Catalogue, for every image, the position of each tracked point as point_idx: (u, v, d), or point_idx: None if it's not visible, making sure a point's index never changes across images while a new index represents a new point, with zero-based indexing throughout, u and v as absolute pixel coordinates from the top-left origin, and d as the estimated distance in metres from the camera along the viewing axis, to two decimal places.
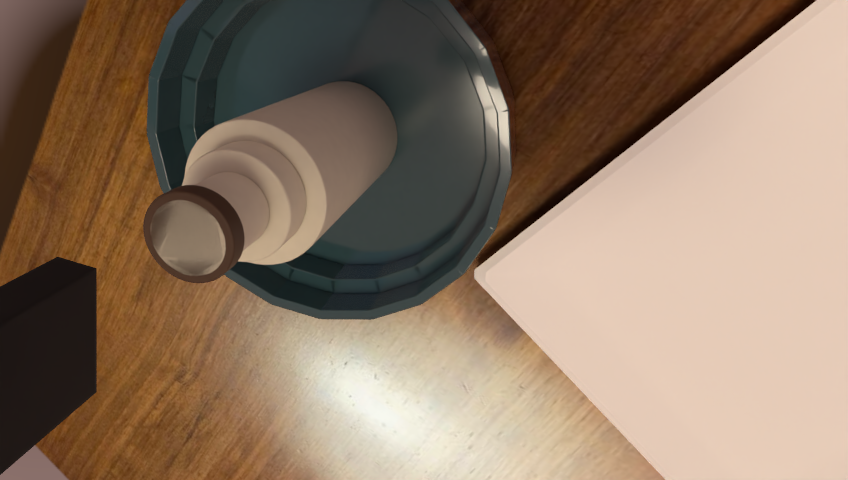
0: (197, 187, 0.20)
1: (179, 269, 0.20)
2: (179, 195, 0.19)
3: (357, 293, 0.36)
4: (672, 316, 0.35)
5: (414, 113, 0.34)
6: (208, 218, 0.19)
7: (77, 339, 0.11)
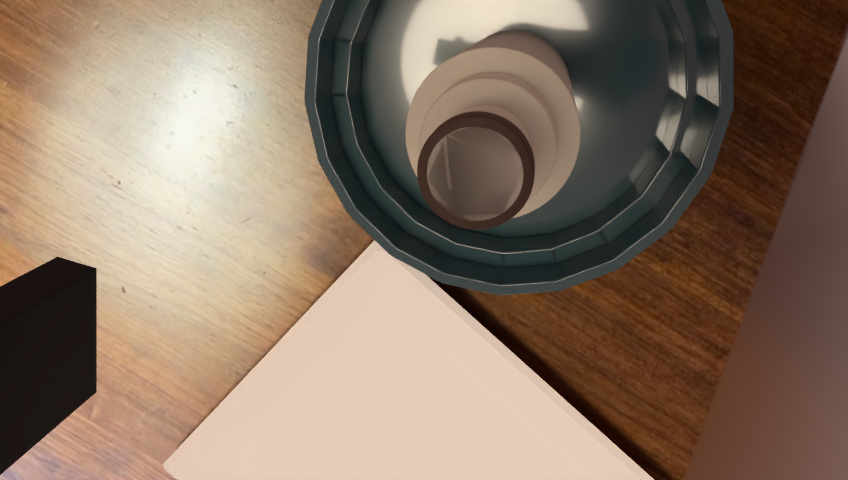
0: None
1: (432, 158, 0.17)
2: (528, 170, 0.16)
3: (336, 124, 0.32)
4: (370, 393, 0.41)
5: None
6: (503, 204, 0.17)
7: (77, 339, 0.11)
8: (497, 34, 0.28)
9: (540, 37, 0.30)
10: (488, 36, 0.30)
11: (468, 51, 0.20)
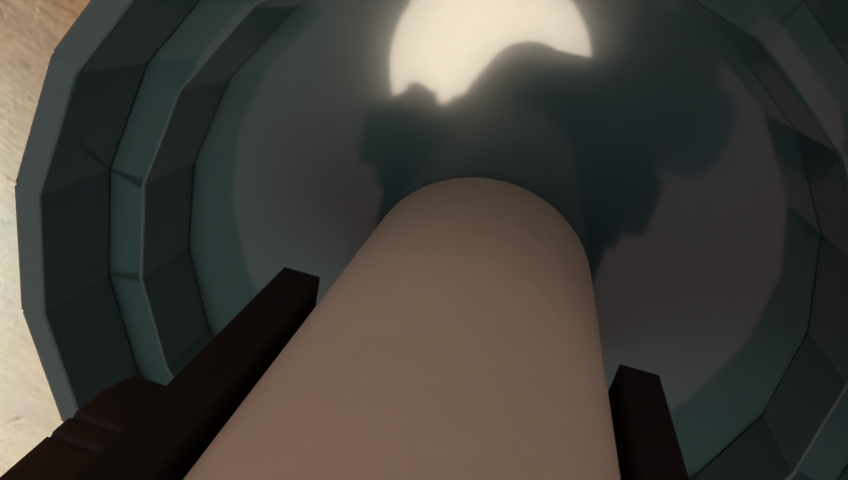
0: None
1: None
2: None
3: (124, 328, 0.16)
4: None
5: None
6: None
7: None
8: (444, 211, 0.13)
9: (539, 199, 0.15)
10: (431, 193, 0.14)
11: None
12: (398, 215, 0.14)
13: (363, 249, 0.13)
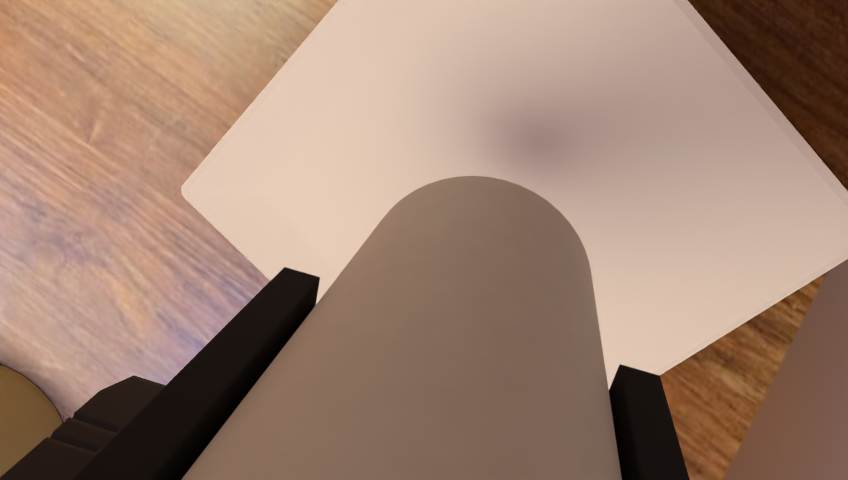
0: None
1: None
2: None
3: None
4: (462, 76, 0.31)
5: None
6: None
7: None
8: (444, 209, 0.13)
9: (539, 197, 0.15)
10: (431, 192, 0.14)
11: None
12: (398, 214, 0.14)
13: (363, 248, 0.13)
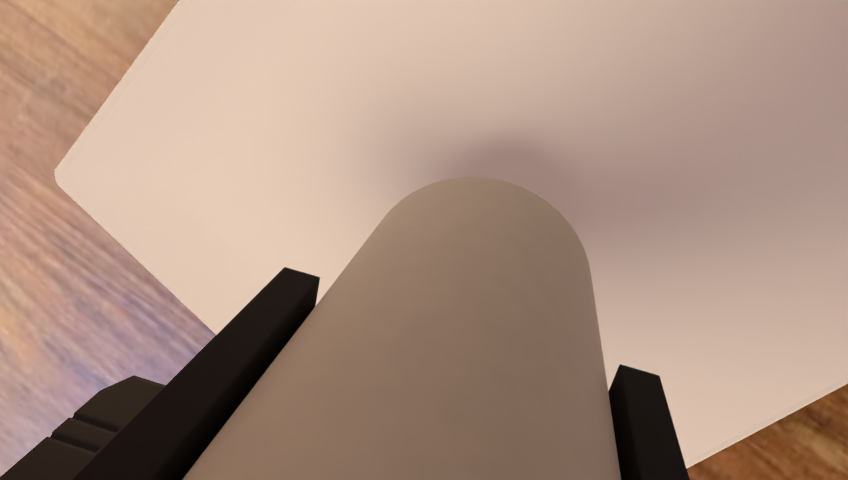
0: None
1: None
2: None
3: None
4: (451, 7, 0.21)
5: None
6: None
7: None
8: (444, 210, 0.13)
9: (539, 198, 0.15)
10: (431, 193, 0.14)
11: None
12: (398, 215, 0.14)
13: (363, 249, 0.13)
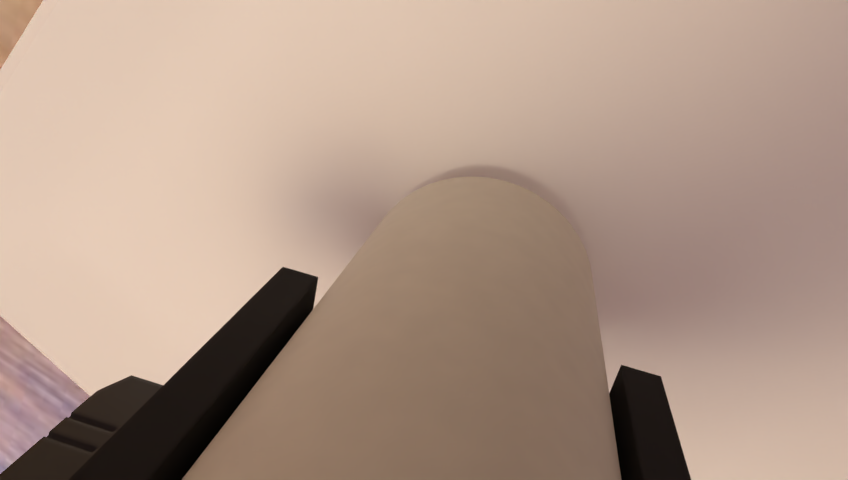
0: None
1: None
2: None
3: None
4: (412, 10, 0.15)
5: None
6: None
7: None
8: (445, 210, 0.13)
9: (540, 198, 0.15)
10: (431, 193, 0.14)
11: None
12: (398, 215, 0.14)
13: (363, 249, 0.13)
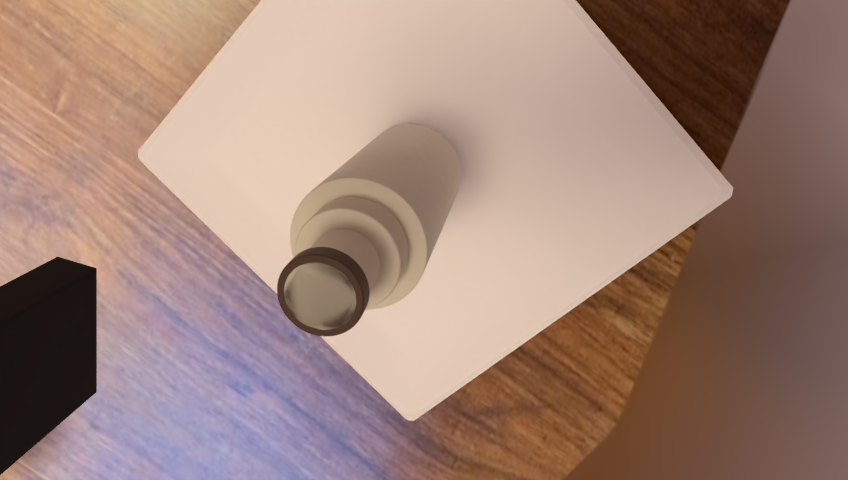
0: (368, 300, 0.22)
1: (288, 281, 0.21)
2: (360, 298, 0.21)
3: None
4: (383, 53, 0.36)
5: None
6: (341, 319, 0.22)
7: (77, 339, 0.11)
8: (394, 132, 0.33)
9: (436, 132, 0.35)
10: (391, 129, 0.35)
11: (340, 178, 0.25)
12: (377, 136, 0.34)
13: None
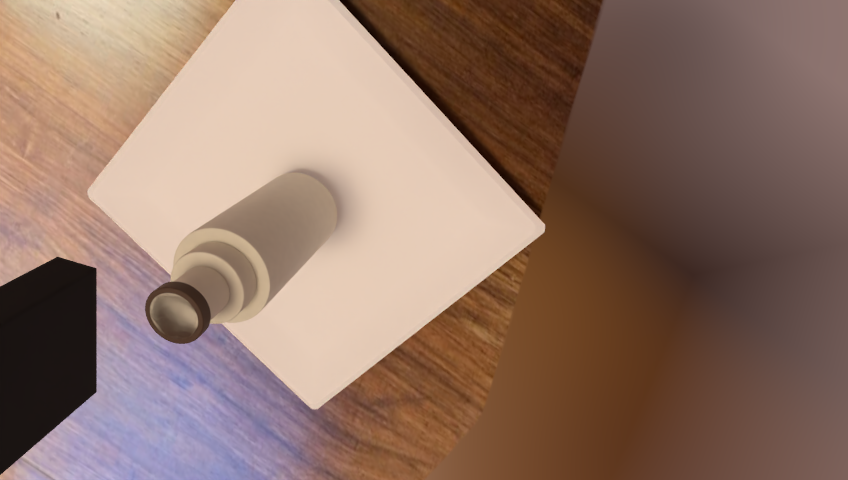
0: (208, 318, 0.31)
1: (152, 305, 0.31)
2: (200, 317, 0.30)
3: None
4: (275, 116, 0.45)
5: None
6: (189, 332, 0.31)
7: (77, 339, 0.11)
8: (276, 182, 0.43)
9: (315, 179, 0.45)
10: (277, 177, 0.44)
11: (204, 228, 0.34)
12: (265, 184, 0.44)
13: None
